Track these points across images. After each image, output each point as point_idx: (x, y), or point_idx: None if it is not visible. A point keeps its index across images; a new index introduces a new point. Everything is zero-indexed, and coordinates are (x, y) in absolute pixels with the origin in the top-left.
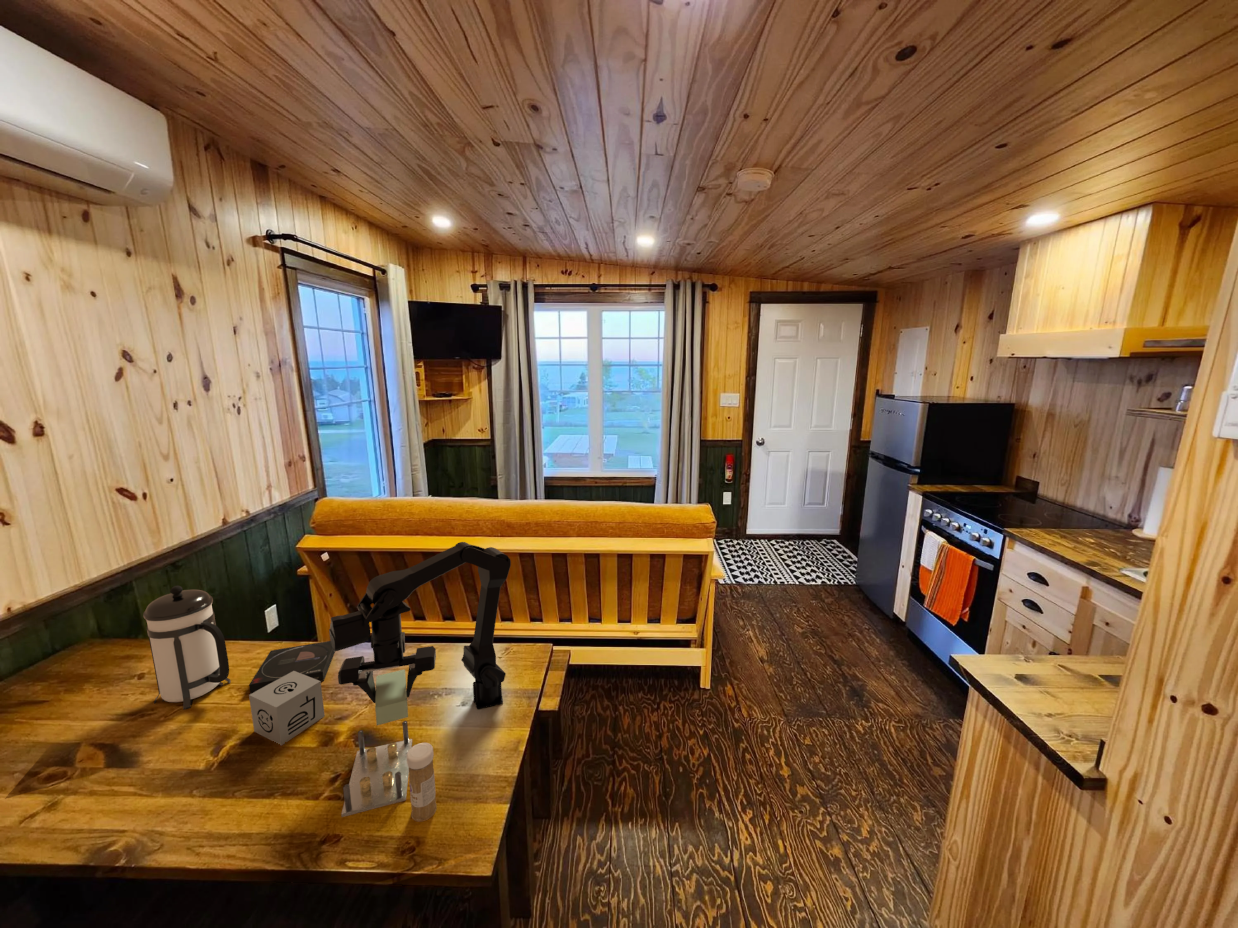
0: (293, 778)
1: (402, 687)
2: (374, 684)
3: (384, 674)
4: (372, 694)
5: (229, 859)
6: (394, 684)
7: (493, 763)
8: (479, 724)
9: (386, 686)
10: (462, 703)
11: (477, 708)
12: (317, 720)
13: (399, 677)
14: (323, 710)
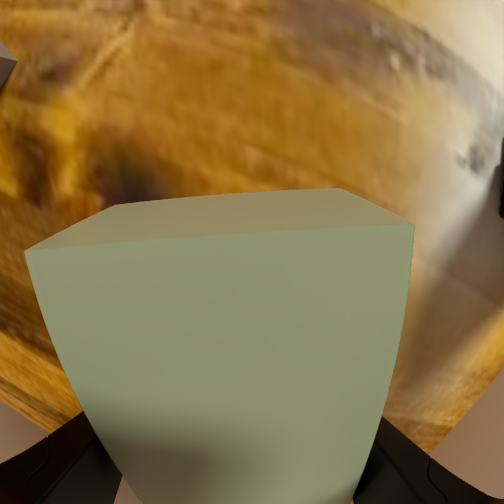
0: (15, 300)
1: (328, 493)
2: (82, 462)
3: (111, 254)
4: (115, 491)
5: (28, 416)
6: (266, 464)
7: (451, 404)
8: (484, 283)
9: (194, 464)
10: (472, 157)
11: (501, 217)
12: (2, 81)
13: (324, 388)
14: (2, 58)
